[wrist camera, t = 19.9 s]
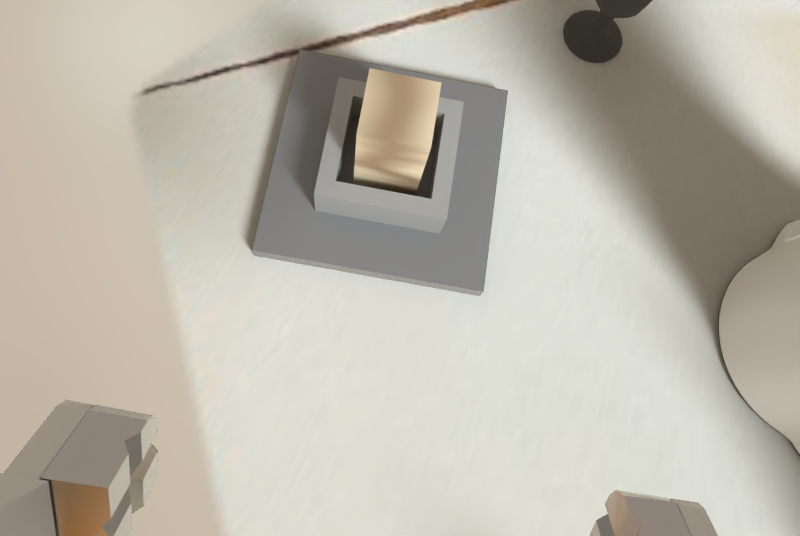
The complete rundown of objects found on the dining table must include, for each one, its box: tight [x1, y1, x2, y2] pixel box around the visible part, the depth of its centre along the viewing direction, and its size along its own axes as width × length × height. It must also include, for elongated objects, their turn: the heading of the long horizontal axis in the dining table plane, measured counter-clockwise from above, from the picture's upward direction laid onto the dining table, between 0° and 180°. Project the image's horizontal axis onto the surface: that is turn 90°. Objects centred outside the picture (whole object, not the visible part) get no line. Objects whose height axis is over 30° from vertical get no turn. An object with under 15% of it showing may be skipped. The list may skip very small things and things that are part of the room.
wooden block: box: [353, 68, 441, 196], centre depth 39 cm, size 4×4×8 cm
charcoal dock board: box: [252, 49, 508, 296], centre depth 42 cm, size 16×16×4 cm
